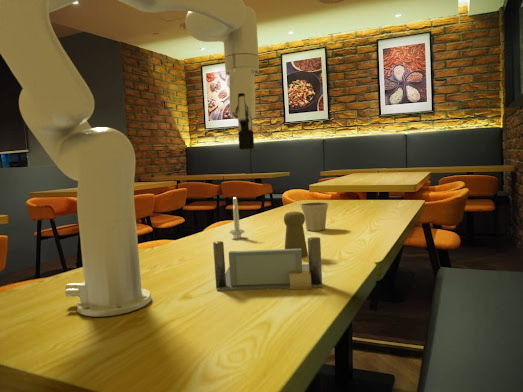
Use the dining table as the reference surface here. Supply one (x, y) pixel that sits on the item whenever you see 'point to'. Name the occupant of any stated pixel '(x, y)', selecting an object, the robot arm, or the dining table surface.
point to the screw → (236, 221)
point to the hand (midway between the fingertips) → (246, 148)
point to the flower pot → (315, 215)
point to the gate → (263, 266)
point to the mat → (260, 286)
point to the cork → (295, 232)
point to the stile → (314, 274)
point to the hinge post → (219, 264)
